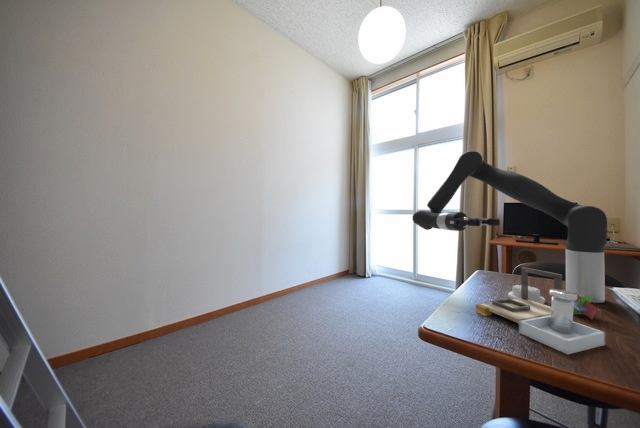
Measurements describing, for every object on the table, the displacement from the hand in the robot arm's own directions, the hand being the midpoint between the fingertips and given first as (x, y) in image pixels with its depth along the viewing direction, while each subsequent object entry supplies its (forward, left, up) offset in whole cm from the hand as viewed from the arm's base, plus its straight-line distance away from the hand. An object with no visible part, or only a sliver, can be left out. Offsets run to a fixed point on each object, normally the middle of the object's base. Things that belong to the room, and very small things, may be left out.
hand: (489, 222), depth 80 cm
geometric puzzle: (-17, +15, -28) cm, 36 cm away
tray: (+5, +22, -28) cm, 36 cm away
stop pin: (+1, +20, -27) cm, 34 cm away
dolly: (0, +10, -28) cm, 30 cm away
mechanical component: (-16, 0, -29) cm, 33 cm away
